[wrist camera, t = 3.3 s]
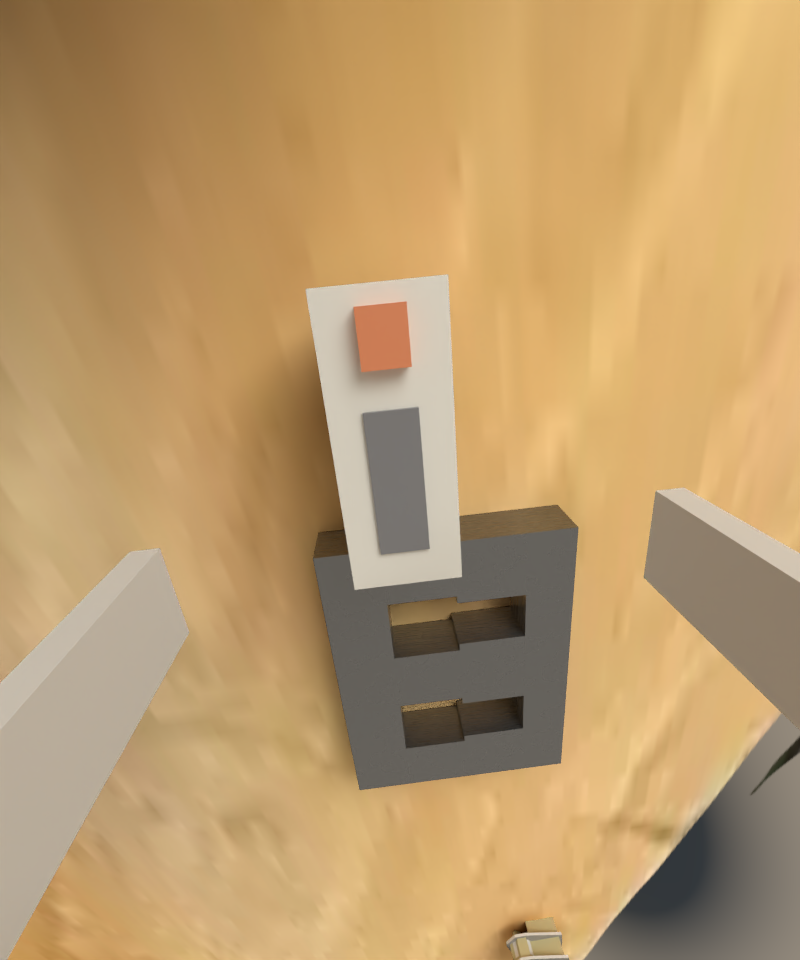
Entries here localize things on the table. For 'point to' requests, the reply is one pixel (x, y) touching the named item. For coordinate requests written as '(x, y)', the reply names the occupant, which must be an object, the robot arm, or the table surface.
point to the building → (537, 942)
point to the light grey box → (391, 425)
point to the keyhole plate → (457, 654)
